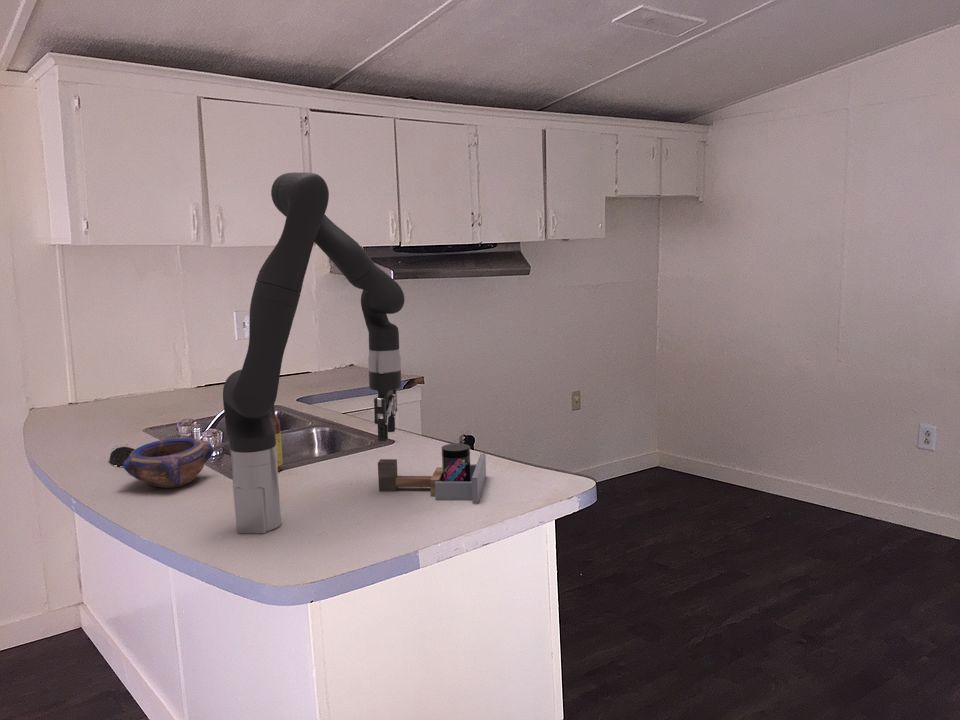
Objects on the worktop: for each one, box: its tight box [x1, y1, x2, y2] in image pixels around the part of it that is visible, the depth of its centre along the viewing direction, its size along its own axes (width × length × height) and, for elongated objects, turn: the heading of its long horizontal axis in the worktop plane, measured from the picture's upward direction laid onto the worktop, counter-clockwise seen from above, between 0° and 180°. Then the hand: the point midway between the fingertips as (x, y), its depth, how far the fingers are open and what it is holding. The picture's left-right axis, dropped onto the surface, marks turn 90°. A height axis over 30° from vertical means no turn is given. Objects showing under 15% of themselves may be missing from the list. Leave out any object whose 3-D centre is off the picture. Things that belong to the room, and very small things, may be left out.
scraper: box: [377, 458, 443, 497], centre depth 192 cm, size 10×15×7 cm, turn 84°
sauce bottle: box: [269, 404, 284, 472], centre depth 210 cm, size 6×6×20 cm
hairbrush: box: [109, 444, 136, 467], centre depth 219 cm, size 8×4×25 cm
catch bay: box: [434, 453, 487, 504], centre depth 191 cm, size 20×10×6 cm, turn 174°
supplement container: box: [440, 443, 472, 482], centre depth 190 cm, size 7×7×10 cm
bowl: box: [122, 437, 215, 489], centre depth 202 cm, size 18×18×10 cm
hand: (386, 436), depth 191 cm, fingers open, 8 cm apart
